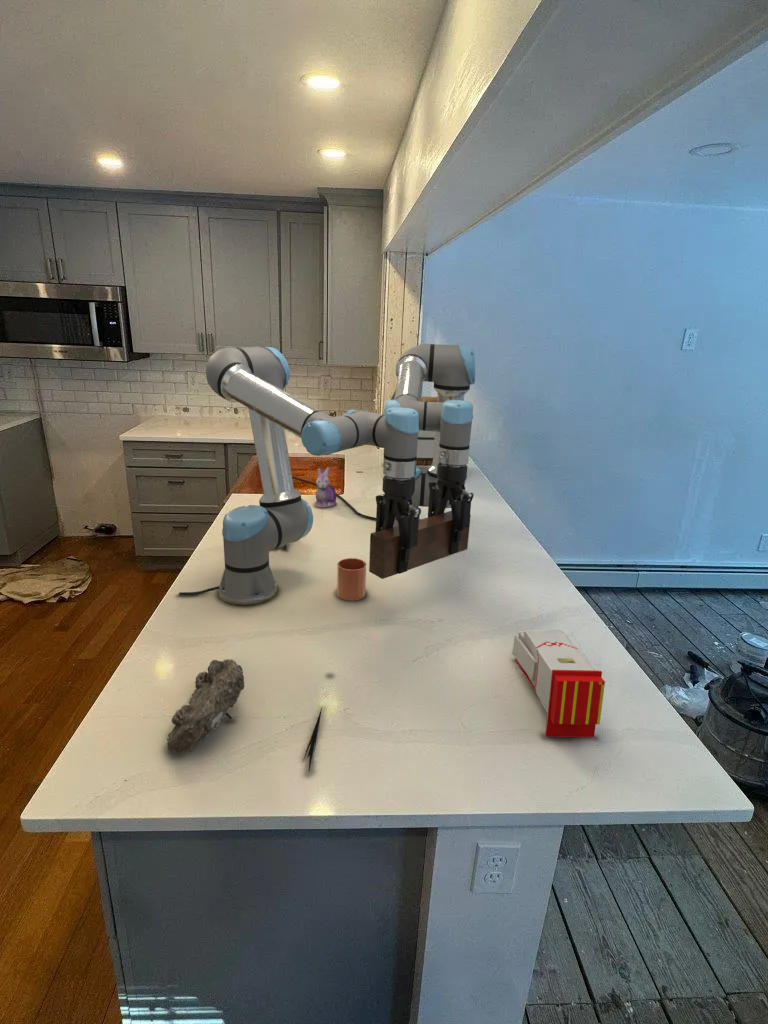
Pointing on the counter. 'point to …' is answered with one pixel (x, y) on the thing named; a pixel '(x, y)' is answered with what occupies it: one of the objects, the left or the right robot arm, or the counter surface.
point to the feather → (313, 740)
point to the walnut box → (429, 547)
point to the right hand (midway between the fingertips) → (445, 548)
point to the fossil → (206, 705)
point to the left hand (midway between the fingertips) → (394, 567)
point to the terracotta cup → (351, 579)
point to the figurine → (324, 490)
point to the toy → (561, 681)
